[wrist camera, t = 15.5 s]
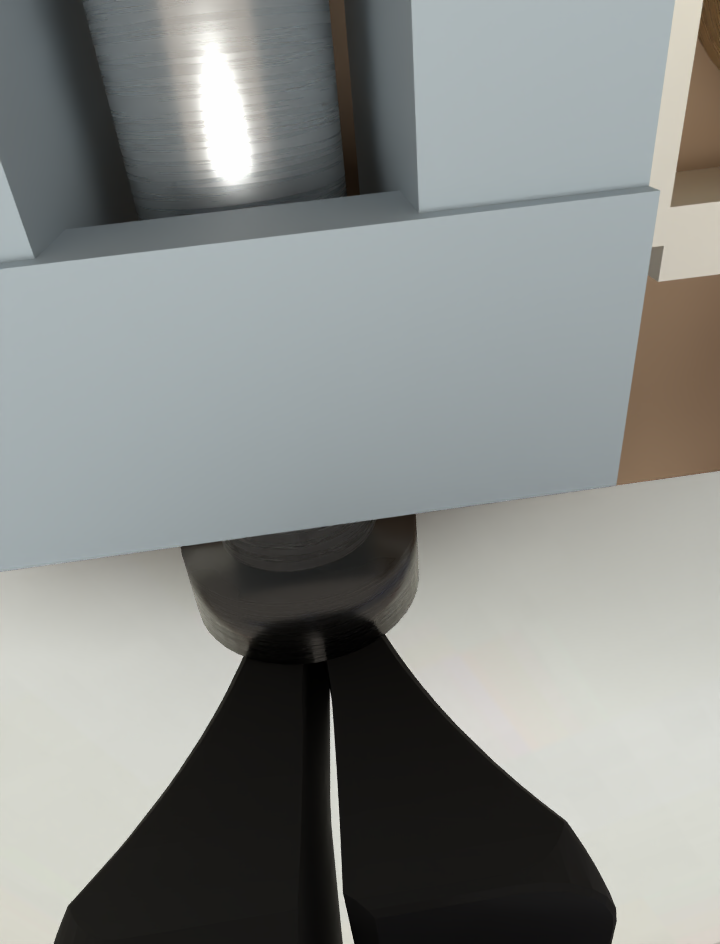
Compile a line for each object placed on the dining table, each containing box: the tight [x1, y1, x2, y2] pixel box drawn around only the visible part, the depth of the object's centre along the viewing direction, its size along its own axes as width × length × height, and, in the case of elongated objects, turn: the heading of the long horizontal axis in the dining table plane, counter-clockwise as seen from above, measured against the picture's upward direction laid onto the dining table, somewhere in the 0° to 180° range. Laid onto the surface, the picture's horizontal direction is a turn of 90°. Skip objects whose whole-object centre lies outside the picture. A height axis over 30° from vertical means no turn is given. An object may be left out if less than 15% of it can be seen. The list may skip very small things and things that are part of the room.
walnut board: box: [329, 0, 720, 485], centre depth 10 cm, size 18×16×1 cm
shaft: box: [82, 0, 419, 664], centre depth 7 cm, size 4×13×4 cm, turn 4°
